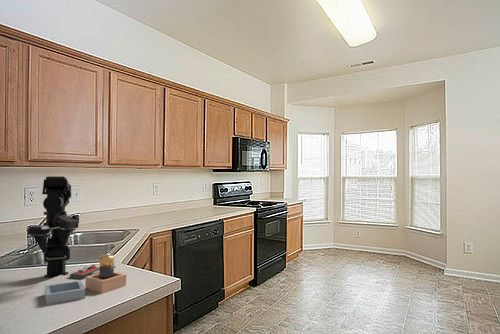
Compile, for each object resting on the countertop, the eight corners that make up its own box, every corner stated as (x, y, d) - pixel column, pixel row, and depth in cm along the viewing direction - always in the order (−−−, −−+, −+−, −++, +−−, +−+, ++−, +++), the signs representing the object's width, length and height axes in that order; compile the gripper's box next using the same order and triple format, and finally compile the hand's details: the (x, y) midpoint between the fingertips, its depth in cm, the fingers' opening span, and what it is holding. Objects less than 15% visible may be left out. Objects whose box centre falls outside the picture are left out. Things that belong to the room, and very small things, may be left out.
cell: (100, 284, 125) (102, 252, 125) (114, 284, 125) (115, 252, 126) (96, 288, 120) (98, 255, 120) (111, 288, 121) (112, 255, 121)
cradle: (44, 297, 114) (44, 285, 114) (80, 291, 120) (80, 280, 120) (46, 308, 105) (46, 295, 105) (85, 301, 111) (85, 288, 111)
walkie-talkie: (84, 284, 130) (117, 270, 149) (85, 272, 130) (117, 260, 149) (65, 282, 132) (99, 268, 151) (65, 270, 132) (100, 258, 151)
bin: (85, 290, 121) (85, 276, 121) (109, 283, 129) (109, 270, 129) (102, 296, 116) (102, 281, 116) (126, 288, 124) (126, 274, 124)
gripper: (53, 212, 118) (52, 256, 117) (90, 207, 136) (89, 246, 135) (27, 211, 120) (25, 255, 120) (66, 206, 138) (66, 244, 138)
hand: (54, 249), depth 128 cm, fingers open, 9 cm apart
